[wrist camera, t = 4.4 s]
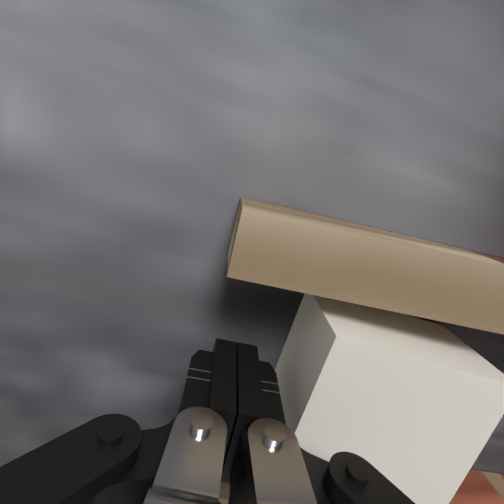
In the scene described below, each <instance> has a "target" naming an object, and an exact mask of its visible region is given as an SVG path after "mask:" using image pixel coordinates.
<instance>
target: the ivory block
mask: <svg viewBox="0 0 504 504" xmlns="http://www.w3.org/2000/svg"><path fill="white" fill-rule="evenodd" d="M275 372H276V375H277V380H278V385H279V390H280V393H279V394H280V396H281V401H282V406H283V411H284V417H285V422H286V425H287V426H288V427H289V428H290V429H291V430H292V431H293V432H294V434H295V435H296V437H297V440H298V442H299V446H300V447H301V448H302V449H304V450H305V451H307V452H309V453H311V454H313V455H315V456H317V457H319V458H322V459H324V460H326V461H328V462H329V461H330V458H331V457H332V456H333V455H334V454H335V453H337V452H343V451H345V452H351V453H354V454H356V455H358V456H360V457H362V458H364V459H365V460H367V461H368V462H369V463H370V464H371V465H373V466H374V467H375V468H376V469H377V470H378V471H379V472H380V473H382V474H383V475H384V476H385V477H386V478H387V479H388V480H389V481H391V482H392V483H393V484H394V485H395V486H396V487H397V488H398V489H400V490H401V491H402V492H403V493H404V494H405V495H406V496H407V497H409V498H410V499H411V500H412V501H413V502H414V503H415V504H449V503H450V501H451V500H452V498H453V496H454V495H455V493H456V491H457V490H458V488H459V487H460V485H461V483H462V482H463V480H464V478H465V477H466V475H467V473H468V472H469V470H470V469H471V467H472V465H473V464H474V462H475V460H476V459H477V457H478V455H479V454H480V452H481V451H482V449H483V447H484V446H485V444H486V442H487V441H488V439H489V437H490V436H491V434H492V432H493V431H494V429H495V428H496V426H497V424H498V423H499V421H500V419H501V418H502V416H503V414H504V374H503V373H502V372H501V371H499V370H498V369H497V368H496V367H494V366H493V365H492V364H491V363H489V362H488V361H487V360H486V359H484V358H483V357H482V356H481V355H479V354H478V353H477V352H476V351H474V350H473V349H472V348H471V347H469V346H468V345H467V344H465V343H464V342H463V341H462V340H460V339H459V338H458V337H457V336H455V335H454V334H453V333H452V332H450V331H449V330H448V329H447V328H445V327H444V326H442V325H439V324H436V323H432V322H429V321H425V320H422V319H419V318H415V317H412V316H408V315H405V314H402V313H397V312H393V311H388V310H383V309H378V308H373V307H368V306H364V305H359V304H354V303H349V302H344V301H340V300H335V299H330V298H325V297H320V296H315V295H311V294H306V293H305V294H304V296H303V299H302V301H301V304H300V306H299V309H298V312H297V314H296V317H295V319H294V322H293V324H292V327H291V330H290V332H289V335H288V337H287V340H286V342H285V345H284V348H283V350H282V353H281V355H280V358H279V360H278V363H277V365H276V368H275Z"/></svg>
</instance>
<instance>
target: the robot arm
mask: <svg viewBox="0 0 504 504" xmlns="http://www.w3.org/2000/svg"><path fill="white" fill-rule="evenodd" d="M279 393H280V390H279V385H278V380H277V375H276V372H275V370H274V369H273V368H272V366H271V365H270V363H269V362H263V361H259V358H258V350H257V346H254V345H249V344H244V343H238V342H237V344H236V342H233V341H228V340H222V339H216V341H215V345H214V349H213V352H209V351H204V350H199V351H197V352H196V353H195V354H194V355H193V356H192V357H191V362H190V366H189V371H188V375H187V380H186V384H185V389H184V393H183V398H182V402H181V407H180V410H179V413H178V415H177V416H176V418H175V419H174V420H173V421H172V422H170V423H169V424H167V425H165V426H163V427H159V428H155V429H148V430H141V428H140V426H139V425H138V423H137V422H136V421H135V420H133V419H132V418H130V417H128V416H125V415H121V414H107V415H103V416H99V417H97V418H95V419H93V420H91V421H89V422H87V423H85V424H83V425H81V426H79V427H77V428H75V429H73V430H71V431H69V432H67V433H65V434H63V435H61V436H60V437H58V438H56V439H54V440H52V441H50V442H48V443H46V444H44V445H42V446H40V447H38V448H36V449H34V450H32V451H30V452H29V453H27V454H25V455H23V456H21V457H19V458H17V459H15V460H13V461H11V462H9V463H7V464H5V465H3V466H1V467H0V504H221V503H220V502H218V500H219V491H220V484H221V482H225V483H230V494H229V498H228V501H227V504H415V503H414V502H413V501H412V500H411V499H410V498H409V497H407V496H406V495H405V494H404V493H403V492H402V491H401V490H400V489H398V488H397V487H396V486H395V485H394V484H393V483H392V482H391V481H389V480H388V479H387V478H386V477H385V476H384V475H383V474H382V473H380V472H379V471H378V470H377V469H376V468H375V467H374V466H373V465H371V464H370V463H369V462H368V461H367V460H365V459H364V458H362V457H360V456H358V455H356V454H354V453H351V452H345V451H343V452H337V453H335V454H334V455H333V456H332V457H331V458H330V461H329V462H328V461H326V460H324V459H322V458H319V457H317V456H315V455H313V454H311V453H309V452H307V451H305V450H304V449H302V448H301V447H300V446H299V442H298V440H297V437H296V435H295V434H294V432H293V431H292V430H291V429H290V428H289V427H288V426H287V425H286V422H285V417H284V411H283V406H282V401H281V396H280V394H279Z"/></svg>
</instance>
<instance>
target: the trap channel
mask: <svg viewBox="0 0 504 504" xmlns="http://www.w3.org/2000/svg"><path fill="white" fill-rule="evenodd" d="M227 277H229V278H234V279H238V280H243V281H248V282H253V283H258V284H262V285H267V286H272V287H277V288H282V289H287V290H291V291H296V292H301V293H306V294H311V295H315V296H320V297H325V298H330V299H335V300H340V301H344V302H349V303H354V304H359V305H364V306H368V307H373V308H378V309H383V310H388V311H393V312H397V313H402V314H407V315H412V316H417V317H421V318H426V319H431V320H436V321H441V322H445V323H450V324H455V325H460V326H465V327H470V328H474V329H479V330H484V331H489V332H494V333H498V334H503V335H504V258H500V257H495V256H491V255H487V254H483V253H478V252H474V251H470V250H466V249H461V248H457V247H453V246H449V245H444V244H440V243H436V242H432V241H427V240H423V239H419V238H415V237H411V236H406V235H402V234H398V233H394V232H389V231H385V230H381V229H377V228H372V227H368V226H364V225H360V224H355V223H351V222H347V221H343V220H338V219H334V218H330V217H326V216H321V215H317V214H313V213H309V212H304V211H300V210H296V209H292V208H287V207H283V206H279V205H275V204H270V203H266V202H262V201H258V200H253V199H249V198H245V197H241V198H240V202H239V206H238V211H237V215H236V220H235V224H234V228H233V233H232V237H231V241H230V246H229V252H228V266H227ZM229 494H230V483H225V482H221V484H220V491H219V500H218V502H220V503H221V504H227V501H228V498H229ZM449 504H504V474H497V473H491V472H484V471H478V470H472V469H470V470H469V472H468V473H467V475H466V477H465V478H464V480H463V482H462V483H461V485H460V487H459V488H458V490H457V491H456V493H455V495H454V496H453V498H452V500H451V501H450V503H449Z"/></svg>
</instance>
